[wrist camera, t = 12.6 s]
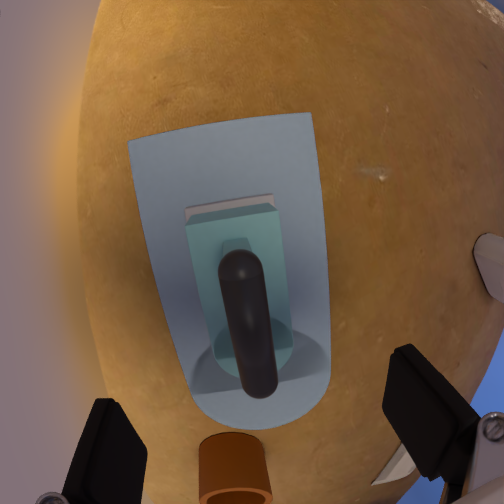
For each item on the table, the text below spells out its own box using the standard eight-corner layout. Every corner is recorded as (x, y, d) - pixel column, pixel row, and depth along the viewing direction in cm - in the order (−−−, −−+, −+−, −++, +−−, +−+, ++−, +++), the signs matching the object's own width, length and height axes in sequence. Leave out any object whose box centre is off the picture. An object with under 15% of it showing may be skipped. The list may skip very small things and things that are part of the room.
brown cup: (200, 474, 36) (200, 521, 27) (198, 430, 33) (196, 487, 24) (258, 474, 37) (265, 520, 28) (267, 431, 34) (278, 486, 25)
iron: (185, 206, 20) (158, 238, 11) (271, 192, 21) (308, 213, 12) (216, 348, 24) (216, 434, 15) (288, 336, 24) (319, 416, 15)
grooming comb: (407, 431, 38) (409, 434, 37) (448, 418, 39) (450, 420, 38) (369, 484, 43) (371, 487, 42) (408, 472, 44) (409, 475, 43)
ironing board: (208, 405, 32) (207, 436, 27) (144, 145, 23) (127, 141, 19) (317, 386, 32) (330, 415, 27) (294, 121, 24) (311, 112, 19)
